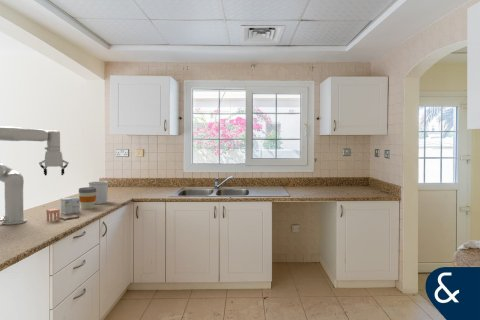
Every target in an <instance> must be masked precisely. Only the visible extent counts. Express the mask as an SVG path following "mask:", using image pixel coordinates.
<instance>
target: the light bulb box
mask: <svg viewBox="0 0 480 320" xmlns="http://www.w3.org/2000/svg"><path fill="white" fill-rule="evenodd" d="M80 209H81V202H80V198H79V196H74V197H73V196H70V197H64V198H60V212H61V213H60V214H61V215H62V214H63V215H69V214H79V213H80V212H81V211H80Z"/></svg>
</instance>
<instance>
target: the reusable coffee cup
mask: <svg viewBox="0 0 480 320" xmlns="http://www.w3.org/2000/svg"><path fill="white" fill-rule="evenodd" d="M78 198H80V209H82V210H84V209H85V210H88V209H93V208H95V204H94V203H95V200H96V188H94V187H89V186H87V187H79V188H78Z"/></svg>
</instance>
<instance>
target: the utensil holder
mask: <svg viewBox="0 0 480 320" xmlns="http://www.w3.org/2000/svg"><path fill="white" fill-rule="evenodd" d="M108 184H109V181H106V180H101V181H100V180H99V181H97V180H94V181H88V187H94V188H96V200H95V203H94V205H102V204H107V203H108V188H109V185H108Z"/></svg>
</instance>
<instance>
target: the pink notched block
mask: <svg viewBox="0 0 480 320" xmlns="http://www.w3.org/2000/svg"><path fill="white" fill-rule="evenodd" d="M60 212H61V208H60V209H59V208H55V207H54V208H50V209H46V221H47V222H51V223H53V220H57V221H60V220H61V219H60V216H61V215H60V214H61V213H60Z"/></svg>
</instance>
